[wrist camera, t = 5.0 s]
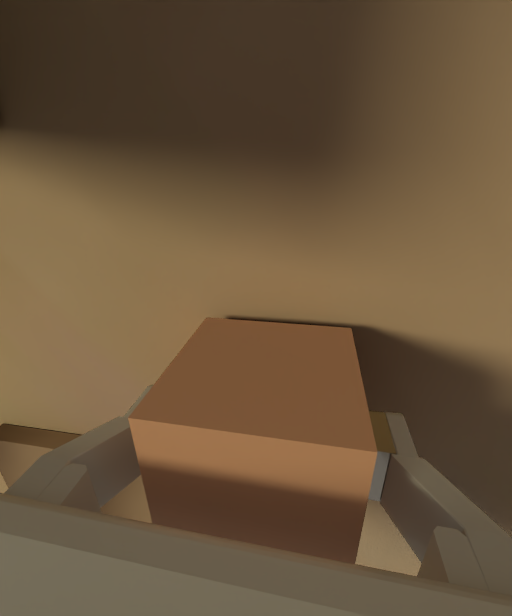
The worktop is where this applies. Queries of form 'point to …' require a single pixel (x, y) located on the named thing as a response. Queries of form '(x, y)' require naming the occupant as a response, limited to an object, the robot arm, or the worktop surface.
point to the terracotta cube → (260, 438)
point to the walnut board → (36, 442)
